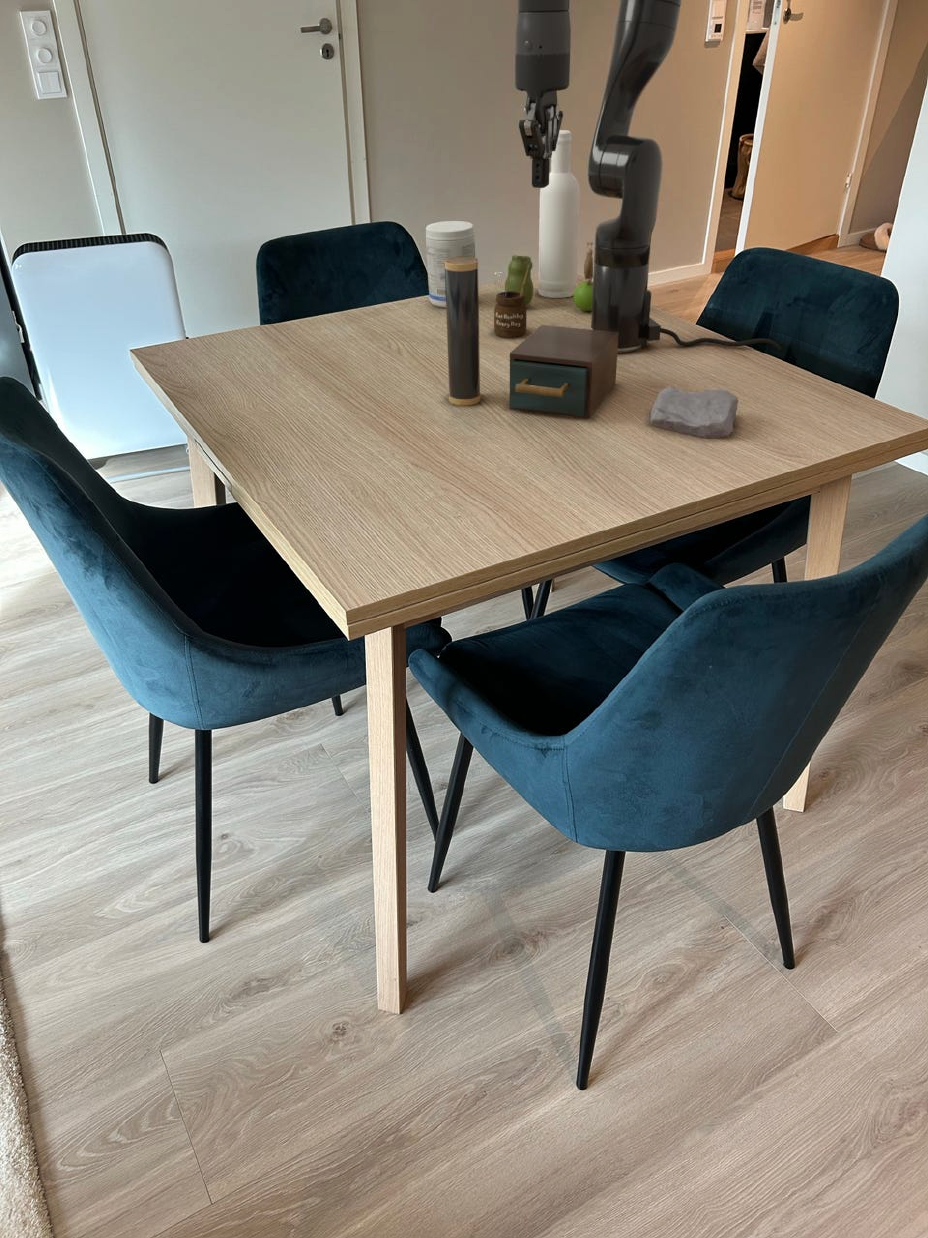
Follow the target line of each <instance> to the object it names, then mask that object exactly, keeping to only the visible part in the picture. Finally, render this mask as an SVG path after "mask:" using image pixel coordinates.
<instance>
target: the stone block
mask: <svg viewBox="0 0 928 1238" xmlns="http://www.w3.org/2000/svg"><path fill="white" fill-rule="evenodd" d="M738 405H739V398H738V397H737V396H736V395H735V394H734V393H731V392H730V391H729V390H725V389H704V390H701V391H695V392H689V391H686V390H685V391H684V390H681V389H678V388H676V387H673V386H669V387H667V388H664V389H663V390H661V391H660V392H659V393H658V394H657V397H656V399H655V402H654V404H653V406H652V409H651V412H650V425H652V426H654V427H656V428H660V429H663V430H669V431H674V432H677V433H680V434H684V435H689V436H696V437H699V438H703V439H712V438H713V439H716V438H717V439H719V438H720V439H721V438H725V437H727V436H730V435H731V433H733V432H734V422H735V419H736V416H737V411H738V407H739V406H738Z"/></svg>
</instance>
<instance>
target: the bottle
mask: <svg viewBox="0 0 928 1238" xmlns="http://www.w3.org/2000/svg"><path fill="white" fill-rule="evenodd" d="M572 142H573V141H572V132H571V131H570V130H567V129H560V131H559V136H558V140H557V145H556V149H555V151H552V156H551V158H550V159H551V160H550V171H549V185H548V186H546V187H545V188H539V219H538V221H539V222H538V223H539V225H538V227H539V229H538V276H537V287H538V288H537V289H538V292H537V293H538V294H539V295H540V296H541V297H543V298H548V299H566V298H570V297H571V298H572V297H573V296H574V291H575V289H576V288H577V286H578V262H579V261H578V259H579V235H580V234H579V230H580V229H579V228H580V205H581V204H580V203H581V189H580V185H579V181H578V178H577V177H575V175H574V174H573V173H572V172H571V149H572V148H571V147H572Z"/></svg>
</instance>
